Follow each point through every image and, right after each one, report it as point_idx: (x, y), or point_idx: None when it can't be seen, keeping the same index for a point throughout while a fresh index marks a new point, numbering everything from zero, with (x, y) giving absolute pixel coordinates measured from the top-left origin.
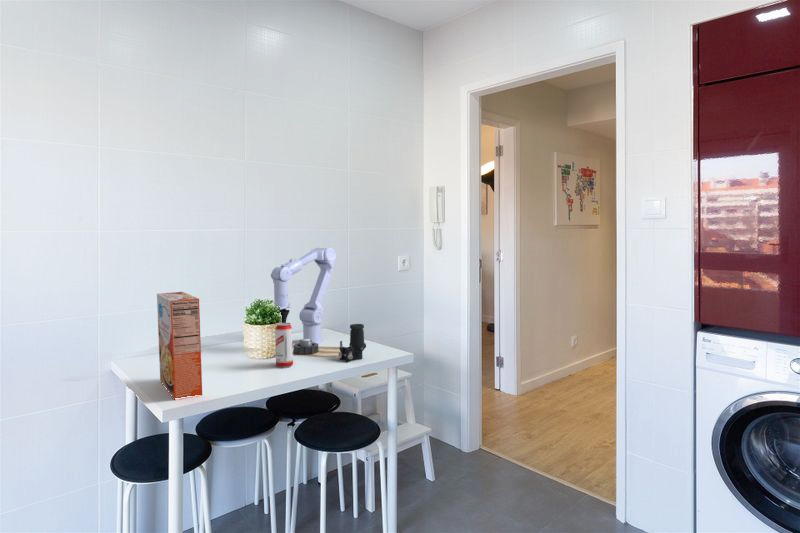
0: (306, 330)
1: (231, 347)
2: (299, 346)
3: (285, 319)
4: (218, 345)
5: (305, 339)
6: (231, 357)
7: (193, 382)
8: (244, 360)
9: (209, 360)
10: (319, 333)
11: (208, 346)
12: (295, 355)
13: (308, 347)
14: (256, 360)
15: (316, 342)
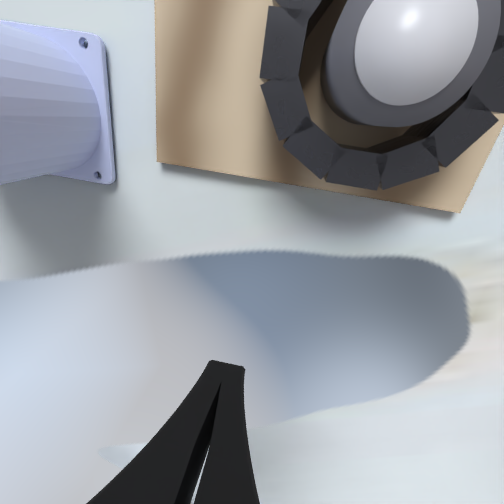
0: (7, 143)
1: (207, 452)
2: (452, 116)
3: (192, 446)
4: None
5: (397, 54)
6: (387, 438)
7: None
8: (467, 393)
9: (422, 487)
10: None
11: None
12: (479, 138)
13: None
14: (489, 348)
15: (60, 49)
